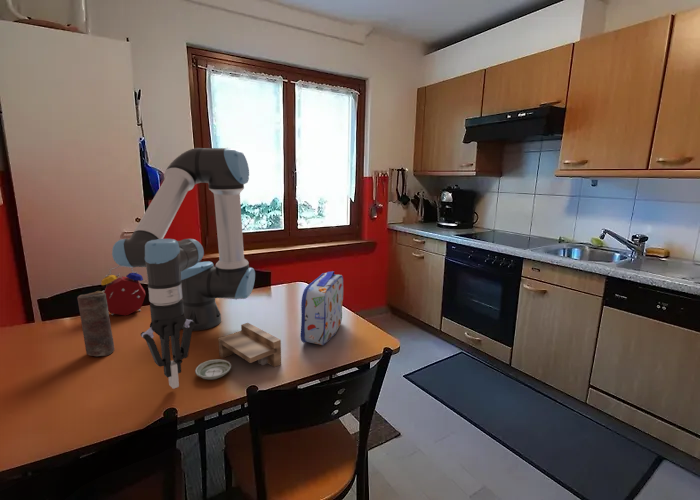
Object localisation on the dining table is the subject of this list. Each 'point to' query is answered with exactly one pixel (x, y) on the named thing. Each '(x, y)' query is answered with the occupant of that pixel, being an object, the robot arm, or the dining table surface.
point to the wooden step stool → (252, 345)
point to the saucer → (213, 369)
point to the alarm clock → (123, 293)
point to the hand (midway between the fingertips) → (174, 385)
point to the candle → (96, 324)
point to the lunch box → (321, 308)
